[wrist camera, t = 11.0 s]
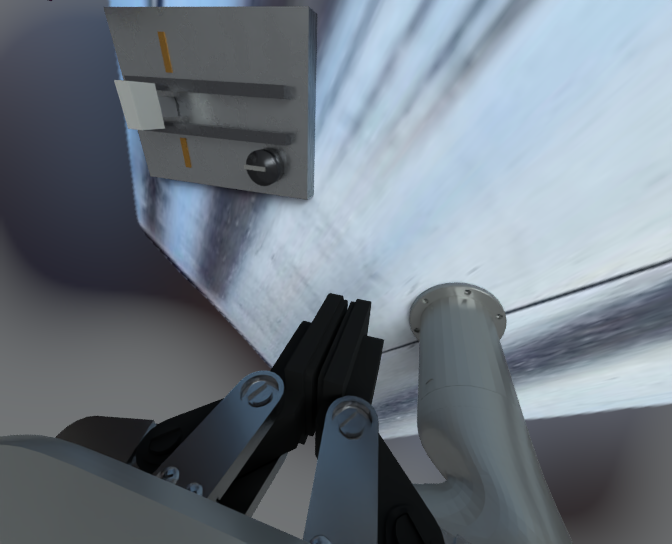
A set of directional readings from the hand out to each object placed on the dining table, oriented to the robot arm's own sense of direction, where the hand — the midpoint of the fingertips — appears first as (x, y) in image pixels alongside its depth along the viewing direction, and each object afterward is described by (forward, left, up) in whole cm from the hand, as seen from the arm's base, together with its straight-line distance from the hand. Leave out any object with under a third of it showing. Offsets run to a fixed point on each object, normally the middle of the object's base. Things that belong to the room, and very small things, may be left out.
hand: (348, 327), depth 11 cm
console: (+6, +23, -27) cm, 36 cm away
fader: (+6, +29, -24) cm, 38 cm away
